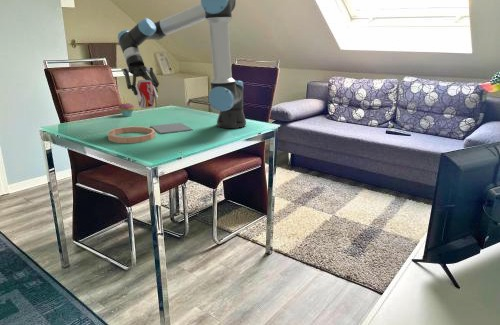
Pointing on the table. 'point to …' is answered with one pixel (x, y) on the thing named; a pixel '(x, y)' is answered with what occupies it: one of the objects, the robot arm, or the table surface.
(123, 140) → the orange-brown ring
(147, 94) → the soda can
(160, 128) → the rubber mat
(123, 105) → the cupcake
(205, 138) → the table surface
